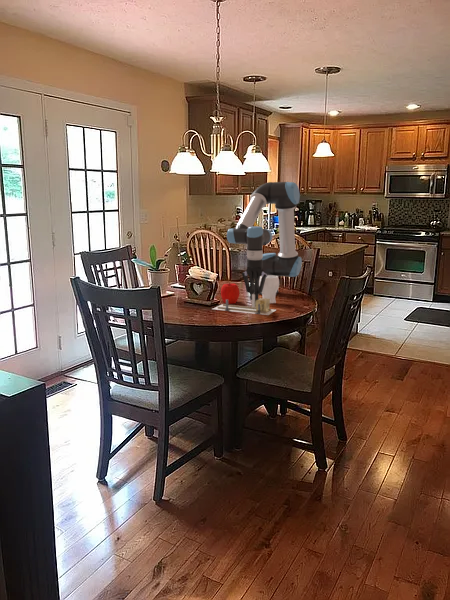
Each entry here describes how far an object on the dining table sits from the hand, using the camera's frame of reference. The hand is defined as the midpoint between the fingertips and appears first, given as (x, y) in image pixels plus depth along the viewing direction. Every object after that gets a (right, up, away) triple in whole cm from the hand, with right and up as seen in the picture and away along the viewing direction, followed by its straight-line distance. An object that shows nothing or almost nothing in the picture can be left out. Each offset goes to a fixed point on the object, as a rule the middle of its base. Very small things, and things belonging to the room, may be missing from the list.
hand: (254, 306), depth 248 cm
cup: (+9, +1, +20) cm, 22 cm away
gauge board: (-5, -3, +3) cm, 6 cm away
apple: (-12, 0, +19) cm, 22 cm away
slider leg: (+3, -3, -3) cm, 5 cm away
